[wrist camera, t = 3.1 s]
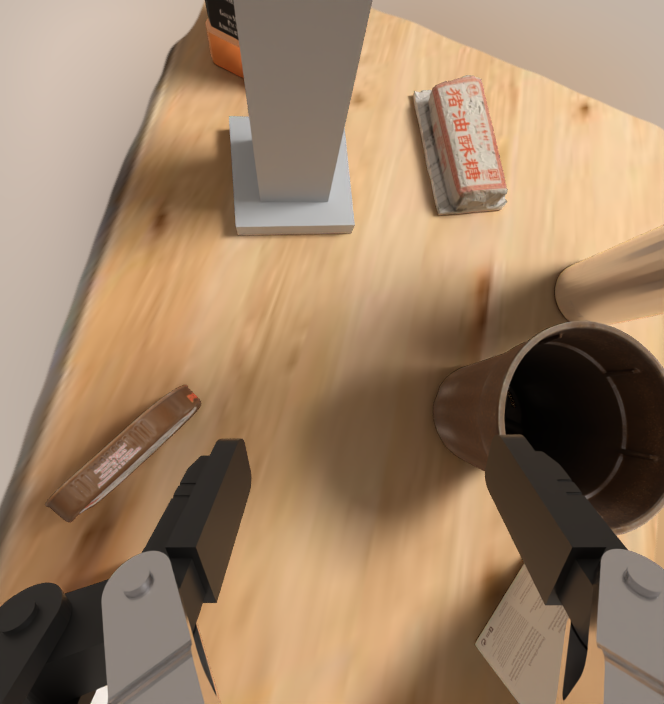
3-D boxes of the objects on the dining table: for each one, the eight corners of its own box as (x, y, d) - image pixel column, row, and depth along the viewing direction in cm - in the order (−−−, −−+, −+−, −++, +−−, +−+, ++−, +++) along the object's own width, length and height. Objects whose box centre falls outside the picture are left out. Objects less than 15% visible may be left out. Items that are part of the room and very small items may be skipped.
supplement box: (556, 714, 38) (784, 988, 20) (471, 643, 37) (631, 860, 20) (611, 612, 40) (856, 779, 23) (532, 544, 40) (721, 661, 22)
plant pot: (390, 390, 39) (460, 388, 24) (490, 325, 42) (612, 285, 27) (461, 505, 39) (581, 584, 23) (557, 432, 42) (722, 456, 26)
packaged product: (526, 191, 41) (453, 197, 39) (501, 212, 45) (435, 218, 44) (495, 62, 42) (424, 63, 41) (474, 96, 47) (410, 98, 46)
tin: (194, 383, 36) (167, 380, 28) (214, 403, 36) (193, 406, 28) (82, 485, 34) (15, 515, 25) (103, 506, 34) (44, 544, 25)
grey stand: (351, 233, 41) (561, -279, 10) (238, 235, 39) (42, -406, 8) (341, 132, 43) (493, -590, 11) (231, 129, 41) (46, -766, 9)
